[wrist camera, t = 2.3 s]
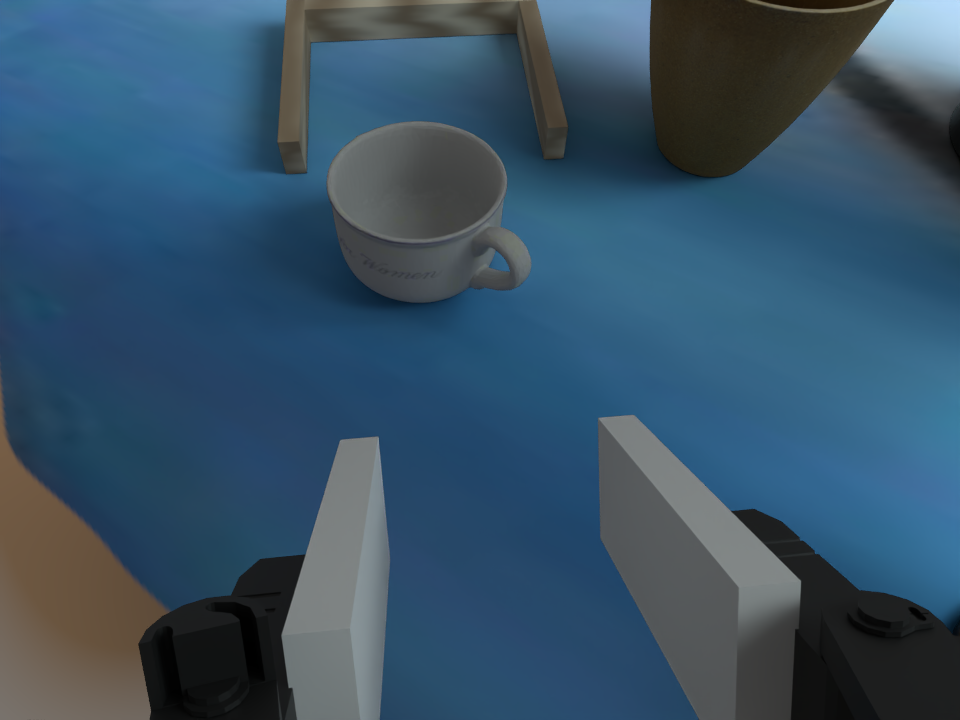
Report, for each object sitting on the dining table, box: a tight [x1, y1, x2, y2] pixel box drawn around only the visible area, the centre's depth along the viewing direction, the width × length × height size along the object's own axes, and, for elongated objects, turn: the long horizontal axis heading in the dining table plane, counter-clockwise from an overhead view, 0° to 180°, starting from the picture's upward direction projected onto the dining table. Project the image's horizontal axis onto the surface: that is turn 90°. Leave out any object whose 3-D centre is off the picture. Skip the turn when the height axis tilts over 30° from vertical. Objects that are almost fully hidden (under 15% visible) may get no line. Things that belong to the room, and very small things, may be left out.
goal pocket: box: [278, 0, 568, 174], centre depth 57 cm, size 21×18×3 cm
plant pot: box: [650, 0, 894, 177], centre depth 49 cm, size 15×15×16 cm
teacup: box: [327, 121, 531, 303], centre depth 45 cm, size 14×11×8 cm
